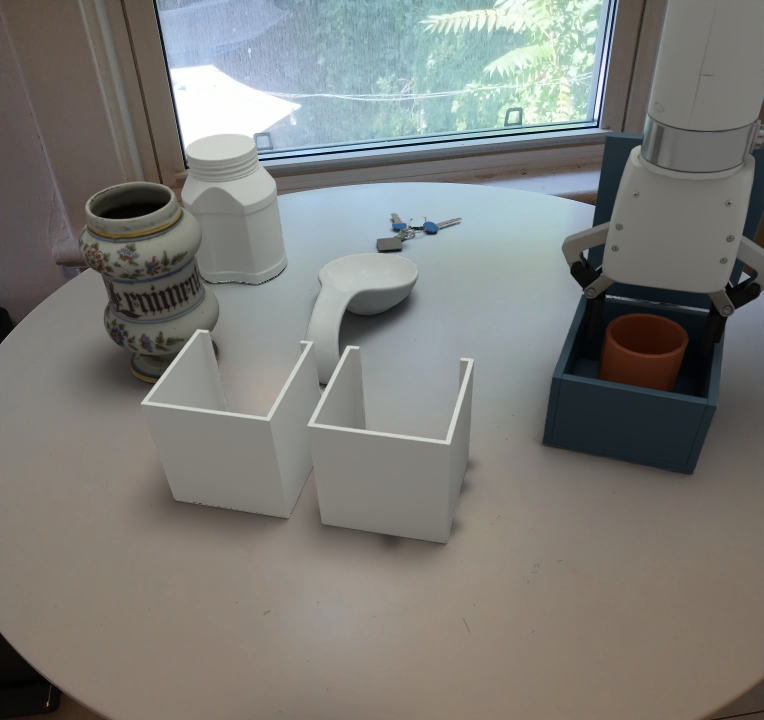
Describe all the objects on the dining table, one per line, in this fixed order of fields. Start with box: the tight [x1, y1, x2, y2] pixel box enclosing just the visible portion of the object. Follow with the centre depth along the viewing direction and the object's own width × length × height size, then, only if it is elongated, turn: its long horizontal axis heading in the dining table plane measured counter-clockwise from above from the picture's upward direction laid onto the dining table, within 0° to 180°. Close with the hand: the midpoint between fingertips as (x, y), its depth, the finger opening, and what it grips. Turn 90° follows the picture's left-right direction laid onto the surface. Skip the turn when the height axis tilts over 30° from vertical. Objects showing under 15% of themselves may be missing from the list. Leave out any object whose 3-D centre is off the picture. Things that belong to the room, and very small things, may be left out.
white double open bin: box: [140, 329, 475, 545], centre depth 63 cm, size 25×11×11 cm, turn 76°
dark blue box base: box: [541, 293, 727, 475], centre depth 69 cm, size 15×14×8 cm
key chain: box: [376, 212, 463, 251], centre depth 101 cm, size 14×8×1 cm, turn 132°
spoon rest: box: [304, 252, 420, 385], centre depth 82 cm, size 24×12×7 cm, turn 165°
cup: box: [596, 314, 689, 393], centre depth 69 cm, size 7×7×8 cm
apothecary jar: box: [77, 181, 220, 385], centre depth 75 cm, size 12×12×18 cm
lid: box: [581, 130, 764, 311], centre depth 66 cm, size 15×14×5 cm
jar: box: [180, 133, 288, 286], centre depth 91 cm, size 12×10×15 cm
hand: (648, 338), depth 66 cm, fingers open, 9 cm apart
